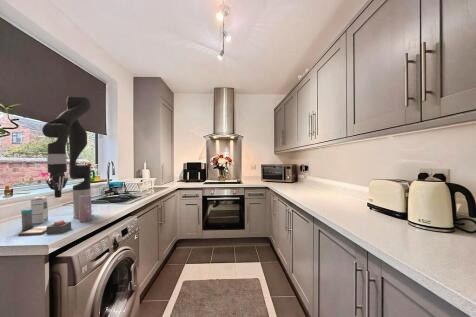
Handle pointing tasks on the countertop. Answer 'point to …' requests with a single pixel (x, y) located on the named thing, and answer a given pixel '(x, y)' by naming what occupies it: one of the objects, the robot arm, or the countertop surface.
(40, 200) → the syrup box
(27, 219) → the green lidded grey container
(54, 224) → the button
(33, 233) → the drawing board
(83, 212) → the tall pink box
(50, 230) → the button box
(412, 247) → the countertop surface
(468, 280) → the countertop surface
